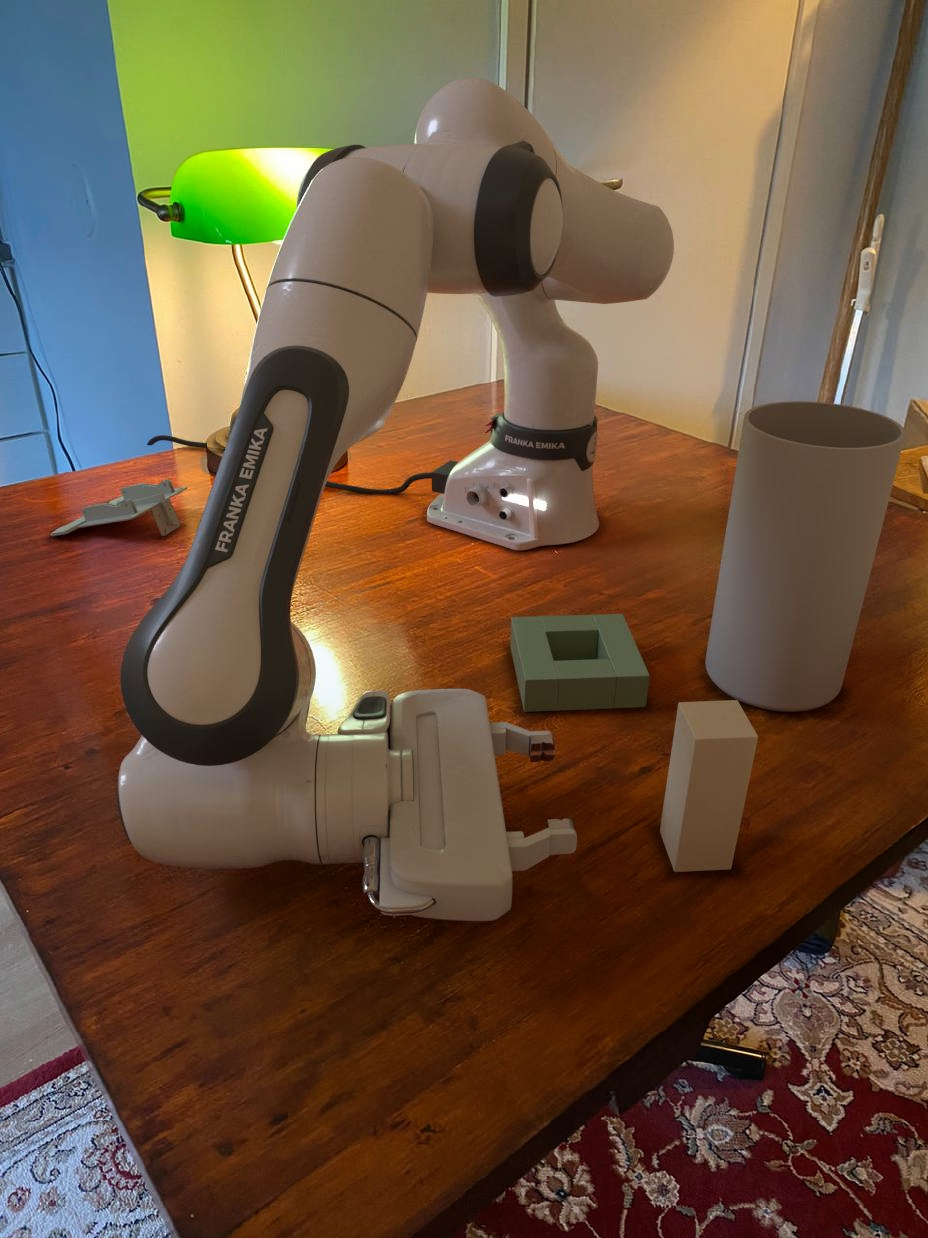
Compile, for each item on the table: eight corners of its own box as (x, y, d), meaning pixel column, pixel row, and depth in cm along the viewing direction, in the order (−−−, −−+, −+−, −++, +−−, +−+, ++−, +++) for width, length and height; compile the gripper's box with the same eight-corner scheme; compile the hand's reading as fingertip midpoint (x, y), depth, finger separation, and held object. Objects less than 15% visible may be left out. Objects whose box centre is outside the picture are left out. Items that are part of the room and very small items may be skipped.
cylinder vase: (822, 732, 79) (889, 460, 67) (685, 689, 85) (723, 431, 73) (853, 666, 89) (917, 416, 76) (727, 631, 94) (768, 393, 82)
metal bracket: (197, 467, 119) (119, 509, 107) (213, 508, 121) (139, 554, 109) (118, 481, 125) (37, 522, 113) (135, 520, 128) (57, 565, 116)
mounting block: (523, 712, 82) (525, 680, 80) (510, 647, 92) (511, 616, 90) (646, 707, 83) (650, 675, 81) (619, 643, 92) (622, 613, 91)
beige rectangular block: (674, 872, 65) (695, 739, 59) (659, 831, 69) (678, 701, 63) (731, 869, 65) (758, 736, 59) (713, 829, 69) (737, 699, 63)
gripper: (356, 876, 52) (595, 864, 53) (366, 677, 70) (545, 670, 71) (363, 951, 55) (587, 939, 56) (370, 742, 73) (541, 735, 74)
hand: (563, 788), depth 63 cm, fingers open, 8 cm apart
